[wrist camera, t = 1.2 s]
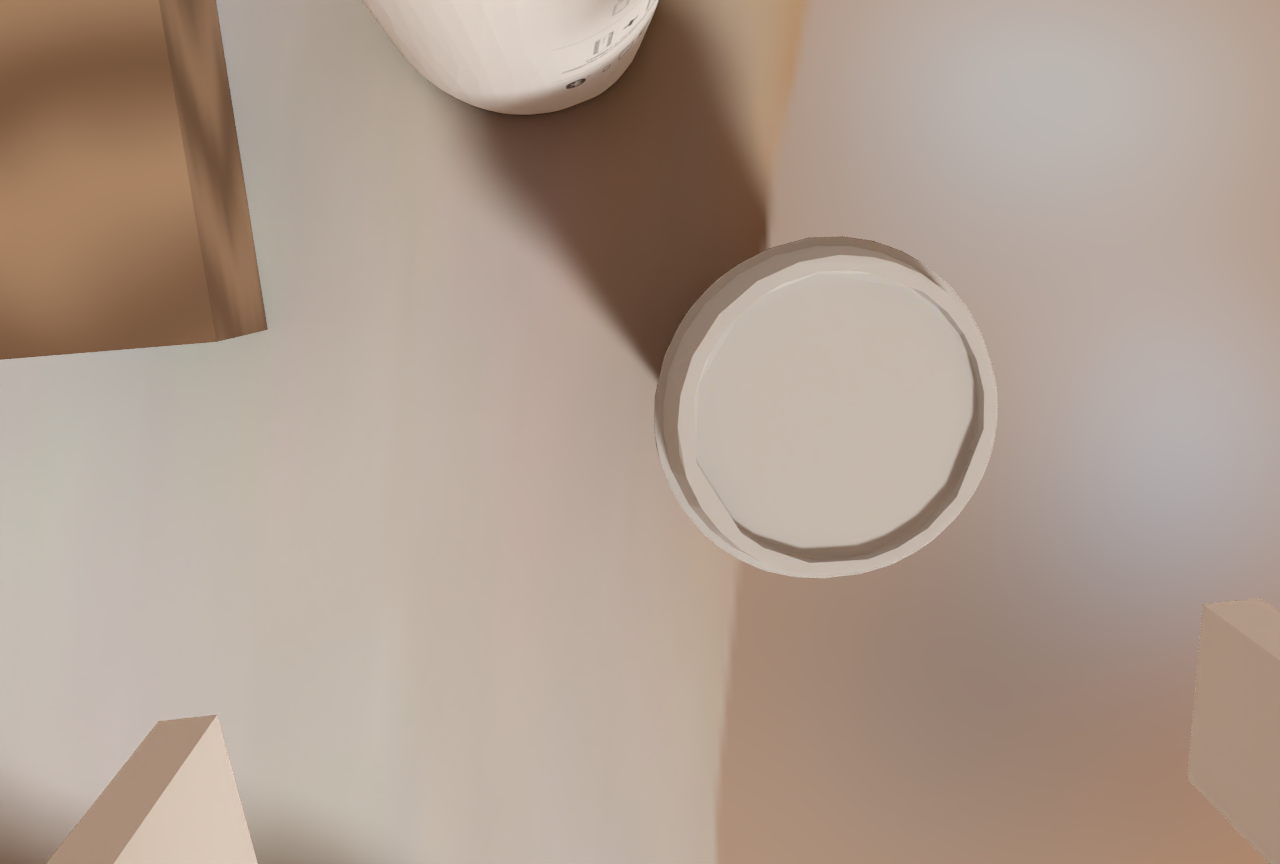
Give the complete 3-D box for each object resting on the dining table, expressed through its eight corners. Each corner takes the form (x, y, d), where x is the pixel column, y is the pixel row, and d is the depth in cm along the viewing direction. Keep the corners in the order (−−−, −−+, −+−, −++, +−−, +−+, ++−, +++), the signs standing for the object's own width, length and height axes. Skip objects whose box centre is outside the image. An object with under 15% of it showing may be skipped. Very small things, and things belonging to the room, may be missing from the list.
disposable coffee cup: (621, 249, 34) (650, 244, 22) (867, 238, 35) (1022, 227, 23) (632, 492, 36) (666, 606, 24) (866, 477, 36) (1009, 581, 25)
